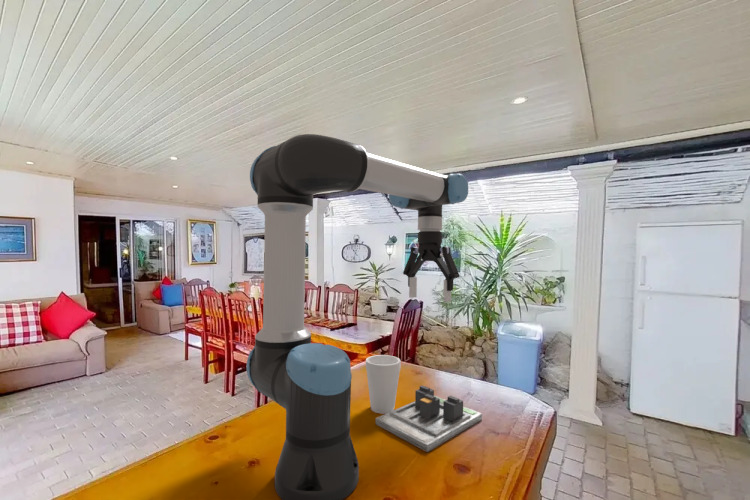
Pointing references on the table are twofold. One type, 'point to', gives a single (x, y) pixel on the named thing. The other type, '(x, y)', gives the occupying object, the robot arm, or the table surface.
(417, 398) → the block
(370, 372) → the foam cup
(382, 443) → the table surface
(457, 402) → the breaker
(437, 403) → the breaker
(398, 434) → the panel
